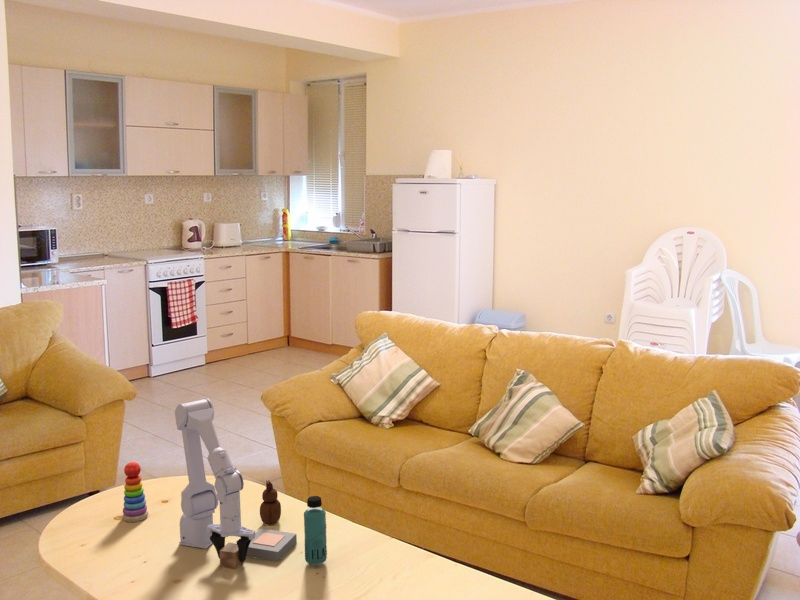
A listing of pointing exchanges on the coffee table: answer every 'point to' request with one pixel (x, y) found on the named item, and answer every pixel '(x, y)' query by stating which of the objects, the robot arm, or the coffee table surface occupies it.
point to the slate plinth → (271, 544)
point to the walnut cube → (230, 556)
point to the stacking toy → (134, 494)
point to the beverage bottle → (315, 532)
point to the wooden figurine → (270, 506)
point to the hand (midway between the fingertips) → (232, 558)
